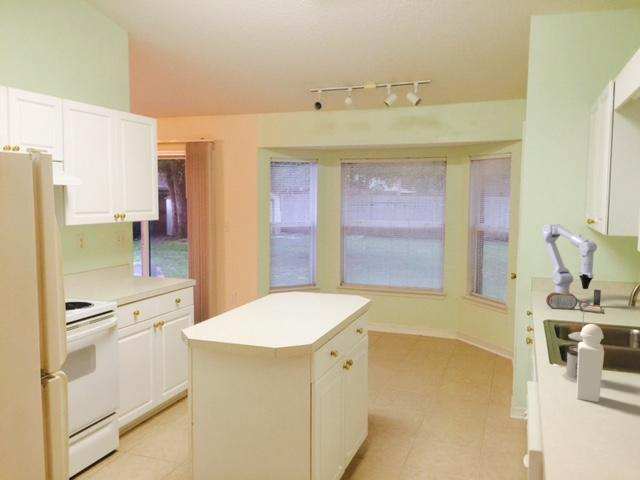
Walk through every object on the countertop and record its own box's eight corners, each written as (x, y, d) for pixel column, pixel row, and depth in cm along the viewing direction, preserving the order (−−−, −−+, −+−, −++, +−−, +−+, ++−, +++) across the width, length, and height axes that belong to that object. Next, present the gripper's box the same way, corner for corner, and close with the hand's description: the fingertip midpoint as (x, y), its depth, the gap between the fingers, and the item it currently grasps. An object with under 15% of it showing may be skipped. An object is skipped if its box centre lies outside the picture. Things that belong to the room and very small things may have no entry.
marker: (592, 305, 275) (593, 289, 275) (599, 306, 274) (600, 289, 273) (593, 306, 272) (594, 290, 272) (600, 307, 271) (601, 290, 270)
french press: (555, 374, 169) (560, 300, 166) (585, 371, 172) (590, 299, 169) (577, 385, 159) (582, 306, 157) (608, 382, 162) (614, 305, 160)
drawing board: (580, 306, 272) (580, 304, 272) (601, 308, 268) (601, 307, 268) (580, 311, 261) (580, 309, 261) (602, 313, 257) (603, 311, 257)
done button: (579, 303, 277) (579, 298, 277) (588, 304, 275) (588, 299, 275) (579, 304, 273) (580, 300, 273) (588, 305, 271) (589, 300, 271)
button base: (578, 304, 277) (579, 299, 277) (589, 305, 275) (589, 300, 275) (578, 306, 273) (579, 300, 273) (589, 307, 271) (589, 301, 270)
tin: (575, 308, 268) (576, 292, 267) (577, 310, 264) (578, 294, 264) (545, 307, 269) (546, 291, 268) (547, 308, 266) (548, 293, 265)
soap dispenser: (574, 391, 154) (579, 320, 152) (599, 395, 151) (604, 323, 149) (575, 399, 148) (580, 325, 146) (600, 403, 145) (606, 328, 143)
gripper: (574, 261, 279) (572, 286, 281) (584, 265, 265) (582, 291, 266) (587, 262, 279) (586, 286, 280) (598, 265, 264) (596, 291, 266)
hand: (585, 288), depth 273 cm, fingers closed
